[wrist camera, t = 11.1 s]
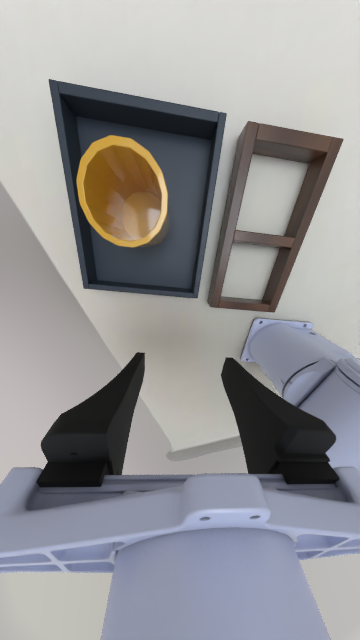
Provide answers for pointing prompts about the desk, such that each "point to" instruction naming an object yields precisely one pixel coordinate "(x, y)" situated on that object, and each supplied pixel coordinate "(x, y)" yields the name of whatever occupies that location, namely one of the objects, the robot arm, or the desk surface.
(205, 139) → the dark blue tray
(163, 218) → the cup
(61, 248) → the desk surface
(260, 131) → the frame
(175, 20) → the desk surface
